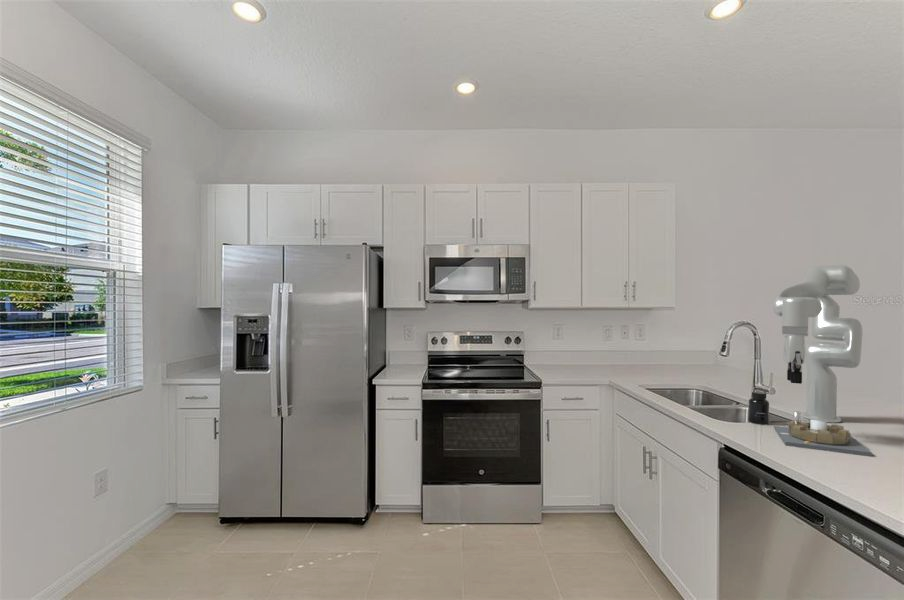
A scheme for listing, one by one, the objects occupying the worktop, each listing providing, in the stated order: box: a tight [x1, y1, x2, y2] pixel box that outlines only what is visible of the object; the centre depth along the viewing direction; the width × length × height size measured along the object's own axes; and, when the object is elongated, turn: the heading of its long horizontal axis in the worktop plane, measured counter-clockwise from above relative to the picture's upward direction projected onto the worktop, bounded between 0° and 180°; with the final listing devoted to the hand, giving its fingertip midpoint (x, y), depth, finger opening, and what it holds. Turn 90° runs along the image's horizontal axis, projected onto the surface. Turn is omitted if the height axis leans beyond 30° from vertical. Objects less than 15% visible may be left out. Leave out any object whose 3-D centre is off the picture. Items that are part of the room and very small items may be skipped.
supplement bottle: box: [747, 391, 770, 426], centre depth 180 cm, size 7×7×12 cm
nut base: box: [773, 419, 873, 457], centre depth 156 cm, size 22×22×7 cm
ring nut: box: [788, 410, 851, 445], centre depth 156 cm, size 16×16×8 cm
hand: (794, 381), depth 163 cm, fingers open, 5 cm apart
